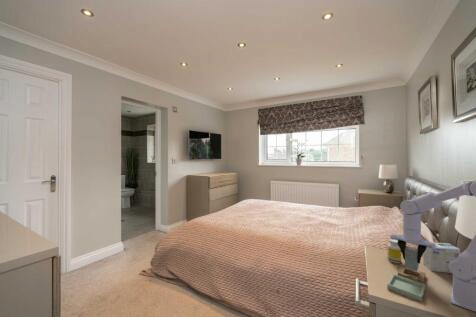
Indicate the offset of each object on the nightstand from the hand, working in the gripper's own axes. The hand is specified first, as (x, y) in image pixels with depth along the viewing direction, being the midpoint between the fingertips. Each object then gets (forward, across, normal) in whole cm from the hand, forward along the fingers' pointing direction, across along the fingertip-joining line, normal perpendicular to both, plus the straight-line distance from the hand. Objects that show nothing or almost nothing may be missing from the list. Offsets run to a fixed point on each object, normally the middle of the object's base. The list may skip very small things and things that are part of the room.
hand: (411, 260), depth 90 cm
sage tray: (+7, 0, +12) cm, 14 cm away
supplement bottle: (+7, +8, -11) cm, 15 cm away
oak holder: (+7, 0, 0) cm, 7 cm away
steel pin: (+3, 0, 0) cm, 3 cm away
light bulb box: (+7, -8, -17) cm, 20 cm away
